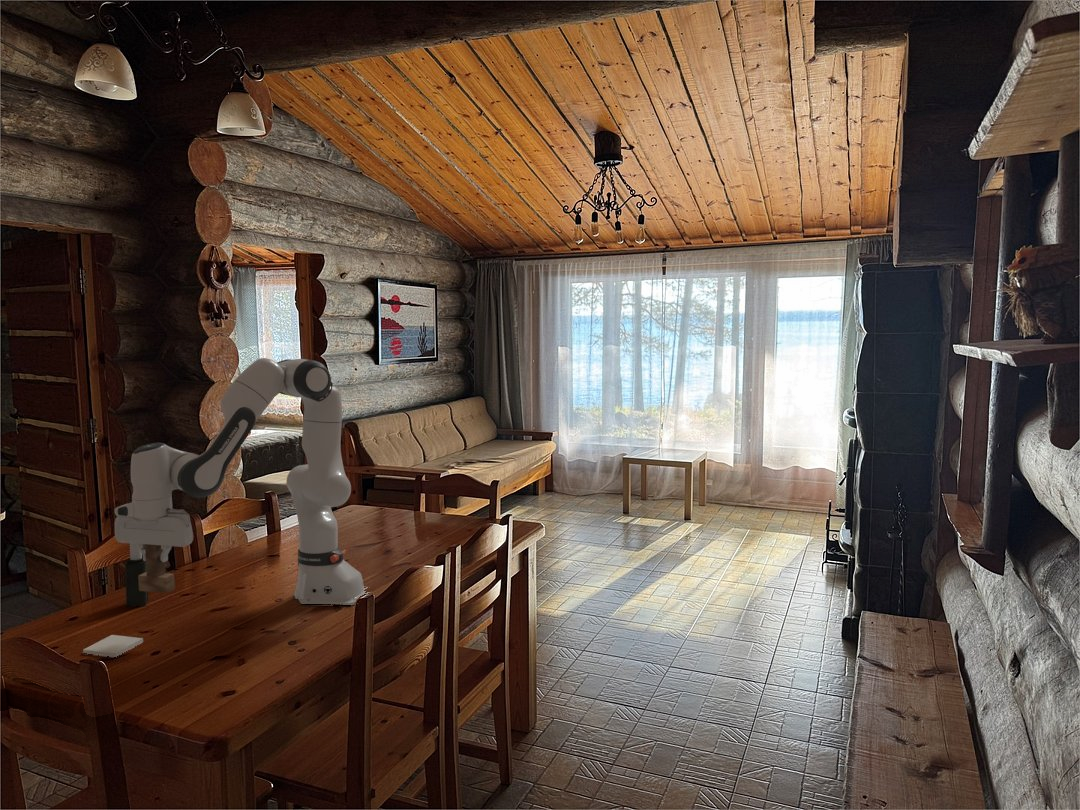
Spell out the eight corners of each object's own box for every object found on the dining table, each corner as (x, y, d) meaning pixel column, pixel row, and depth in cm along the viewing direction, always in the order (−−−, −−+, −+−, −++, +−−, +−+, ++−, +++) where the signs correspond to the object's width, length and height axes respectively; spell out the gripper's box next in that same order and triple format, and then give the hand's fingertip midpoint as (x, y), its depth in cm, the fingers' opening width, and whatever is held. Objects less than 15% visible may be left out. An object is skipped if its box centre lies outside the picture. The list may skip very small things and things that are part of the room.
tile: (142, 638, 180) (115, 653, 171) (143, 644, 180) (115, 659, 171) (111, 634, 181) (83, 649, 173) (112, 640, 182) (83, 656, 173)
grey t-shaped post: (174, 588, 183) (171, 535, 181) (166, 593, 180) (163, 539, 178) (147, 586, 184) (144, 533, 183) (139, 590, 182) (135, 537, 180)
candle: (129, 601, 207) (126, 517, 204) (148, 600, 208) (146, 516, 206) (125, 608, 202) (123, 521, 200) (146, 606, 204) (143, 520, 201)
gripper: (197, 506, 181) (200, 559, 183) (127, 502, 185) (130, 554, 186) (180, 513, 175) (183, 567, 176) (108, 508, 179) (111, 562, 180)
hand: (155, 560), depth 181 cm, fingers closed on grey t-shaped post, 3 cm apart
